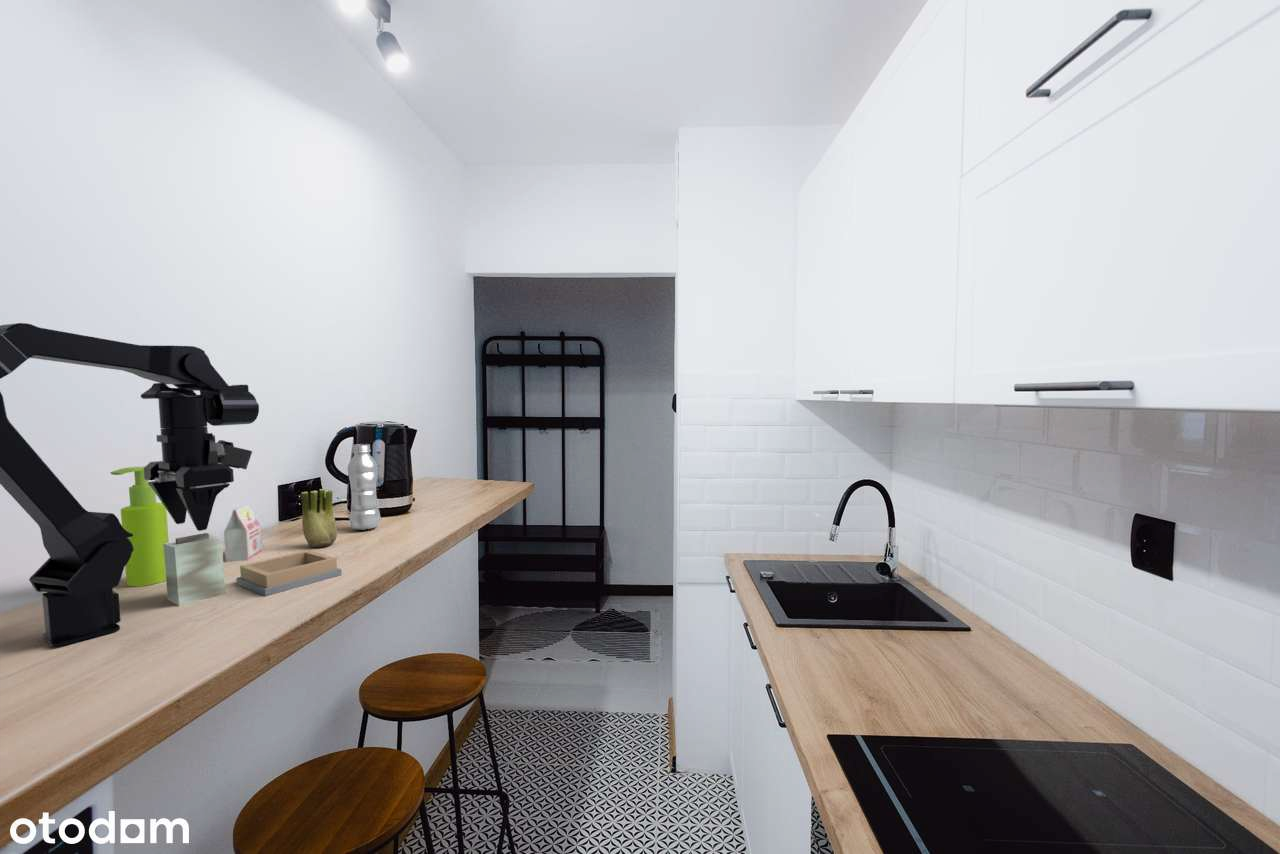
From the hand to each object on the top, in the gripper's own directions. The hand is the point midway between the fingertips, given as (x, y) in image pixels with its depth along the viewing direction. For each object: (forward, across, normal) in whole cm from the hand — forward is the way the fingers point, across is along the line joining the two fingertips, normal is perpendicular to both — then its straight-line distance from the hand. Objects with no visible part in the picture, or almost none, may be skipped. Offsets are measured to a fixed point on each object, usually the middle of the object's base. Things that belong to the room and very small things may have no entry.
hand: (191, 526), depth 89 cm
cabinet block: (+11, 0, 0) cm, 11 cm away
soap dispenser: (+11, +17, +2) cm, 21 cm away
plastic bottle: (+11, +20, -39) cm, 45 cm away
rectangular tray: (+11, -4, -12) cm, 17 cm away
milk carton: (+11, +20, -14) cm, 27 cm away
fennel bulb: (+11, +14, -26) cm, 32 cm away
